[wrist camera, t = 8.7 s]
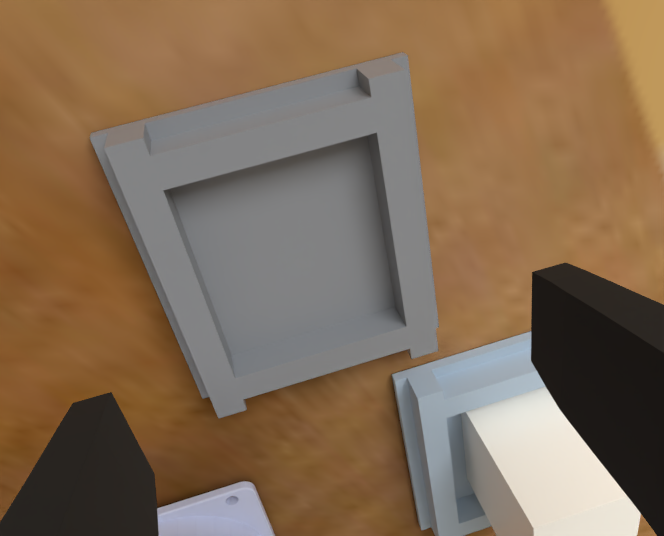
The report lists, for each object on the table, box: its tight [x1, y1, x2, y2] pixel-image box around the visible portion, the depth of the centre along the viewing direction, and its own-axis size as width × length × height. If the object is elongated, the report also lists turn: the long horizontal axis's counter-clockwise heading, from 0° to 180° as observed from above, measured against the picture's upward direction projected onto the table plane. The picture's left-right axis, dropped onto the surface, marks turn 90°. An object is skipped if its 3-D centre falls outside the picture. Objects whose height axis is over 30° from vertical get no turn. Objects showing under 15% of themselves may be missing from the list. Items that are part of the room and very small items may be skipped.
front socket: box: [90, 52, 439, 418], centre depth 19 cm, size 9×10×2 cm
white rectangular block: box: [461, 386, 641, 536], centre depth 24 cm, size 4×5×6 cm
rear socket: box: [392, 331, 545, 536], centre depth 26 cm, size 9×10×2 cm
